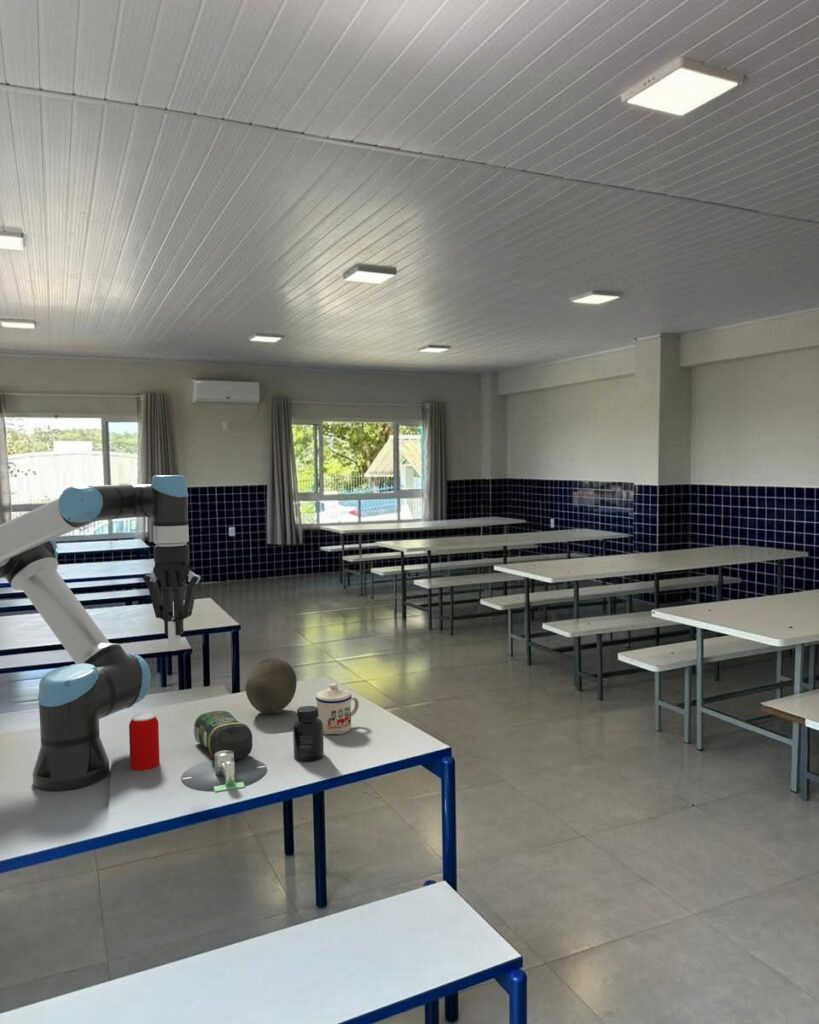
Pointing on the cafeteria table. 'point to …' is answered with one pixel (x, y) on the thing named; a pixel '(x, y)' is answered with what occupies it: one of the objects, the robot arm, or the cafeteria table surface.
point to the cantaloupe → (271, 685)
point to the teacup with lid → (335, 709)
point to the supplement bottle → (308, 735)
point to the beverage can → (144, 742)
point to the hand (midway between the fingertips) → (174, 649)
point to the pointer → (225, 766)
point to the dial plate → (207, 780)
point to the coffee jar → (223, 734)
